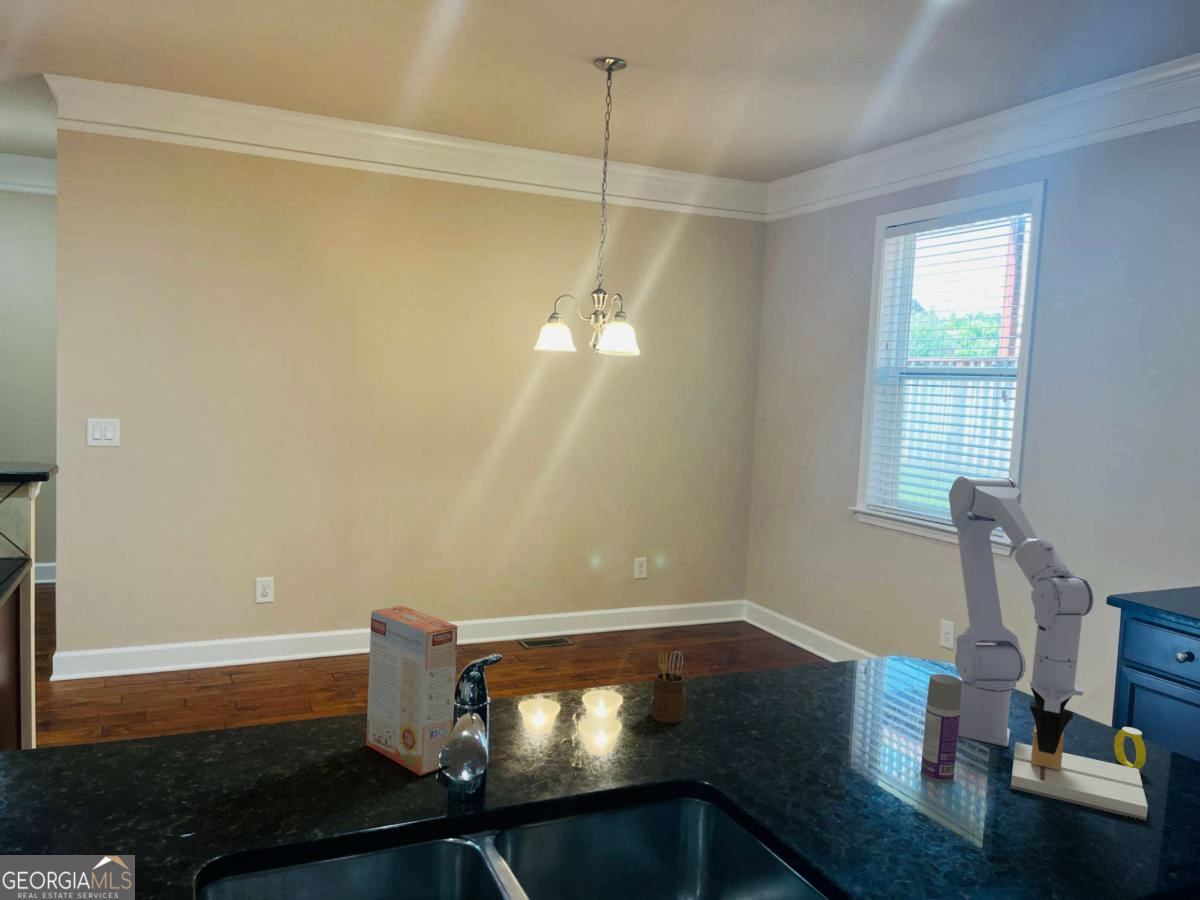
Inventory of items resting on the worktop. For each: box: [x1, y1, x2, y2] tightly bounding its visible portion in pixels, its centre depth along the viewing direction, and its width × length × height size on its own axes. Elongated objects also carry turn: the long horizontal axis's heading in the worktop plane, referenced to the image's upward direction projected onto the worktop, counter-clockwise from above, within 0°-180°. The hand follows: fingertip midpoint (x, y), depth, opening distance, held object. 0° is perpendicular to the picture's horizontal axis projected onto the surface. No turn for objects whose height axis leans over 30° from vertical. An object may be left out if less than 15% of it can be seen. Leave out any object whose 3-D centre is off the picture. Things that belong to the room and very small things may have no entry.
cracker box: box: [365, 605, 459, 776], centre depth 126 cm, size 14×6×21 cm, turn 47°
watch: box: [1113, 726, 1147, 770], centre depth 137 cm, size 6×3×6 cm, turn 1°
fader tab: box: [1031, 724, 1065, 770], centre depth 131 cm, size 4×3×7 cm
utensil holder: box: [650, 650, 687, 724], centre depth 146 cm, size 6×6×12 cm
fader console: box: [1010, 741, 1149, 821], centre depth 129 cm, size 17×14×2 cm
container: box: [920, 673, 962, 784], centre depth 129 cm, size 5×5×15 cm
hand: (1046, 743), depth 131 cm, fingers open, 7 cm apart
